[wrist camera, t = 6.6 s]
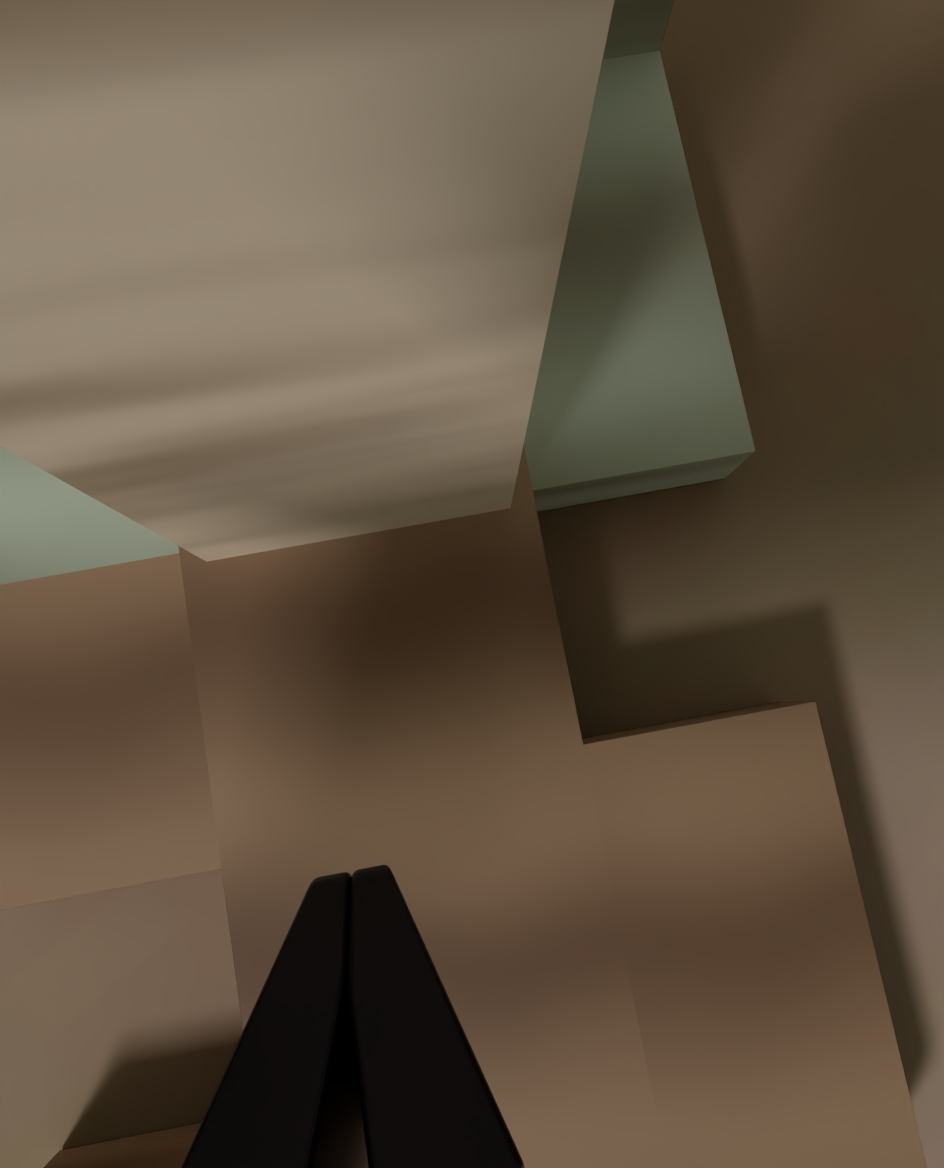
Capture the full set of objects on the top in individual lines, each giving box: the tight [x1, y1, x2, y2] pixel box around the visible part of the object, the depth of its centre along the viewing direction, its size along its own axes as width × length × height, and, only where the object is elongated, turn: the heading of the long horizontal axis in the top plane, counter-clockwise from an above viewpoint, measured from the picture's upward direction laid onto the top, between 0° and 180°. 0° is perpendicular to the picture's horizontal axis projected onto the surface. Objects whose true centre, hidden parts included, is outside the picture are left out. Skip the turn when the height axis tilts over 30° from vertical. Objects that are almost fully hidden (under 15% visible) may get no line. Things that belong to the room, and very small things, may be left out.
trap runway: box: [0, 0, 927, 1168], centre depth 16 cm, size 24×16×5 cm, turn 10°
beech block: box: [0, 0, 614, 562], centre depth 10 cm, size 8×6×15 cm
